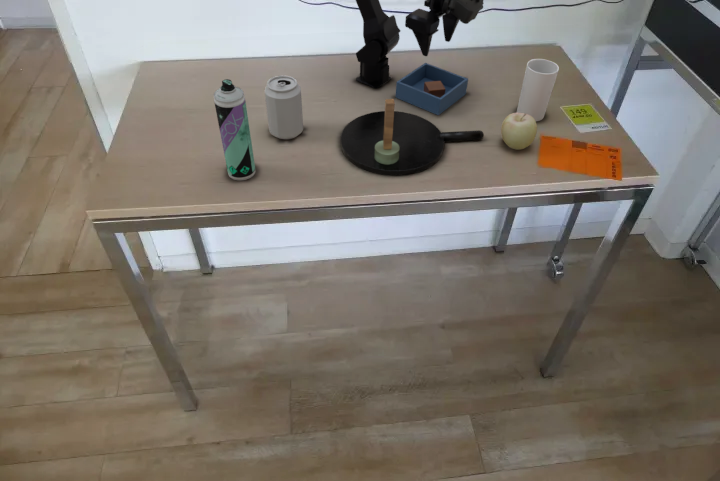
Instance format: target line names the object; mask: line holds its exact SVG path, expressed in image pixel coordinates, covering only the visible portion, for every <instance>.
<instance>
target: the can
mask: <svg viewBox="0 0 720 481" xmlns="http://www.w3.org/2000/svg"><path fill="white" fill-rule="evenodd" d="M264 98H265V106H266V116H267V124H268V131H269V134H271V135H272V136H273V137H276V139H280V140H291V139H294V138H297V137H298V136H299V135H300V134H301V133H303V130H304V116H303V101H302V99H303V98H302V88H301V85H300V84H299V83H298V80H297V79H296V77H295V78H294V77H293V76H291V75H285V74H283V75H282V74H281V75H276V76H272V77H270V78H269V79H268V80H267V82H266V86H265V87H264Z"/></svg>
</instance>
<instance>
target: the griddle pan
mask: <svg viewBox="0 0 720 481" xmlns="http://www.w3.org/2000/svg"><path fill="white" fill-rule="evenodd" d="M384 116H385V110H382V111H379V110H378V111H374V112H373V111H372V112H369V113H366V114H361V115H360V116H357V117H356V118H354V119H353V120H351V121H349V122H348V123H347V124H346V125H345V126H344V128H343V130H342V131H341V135H340V148H341V151H342V153H343V155H344V156H345V158H346V159H347V160H348V161H349V162H351V163H352V164H353V165H355V166H356V167H358V168H360V169H362V170H364V171H367V172H370V173H373V174H378V175H384V176H406V175H407V176H409V175H413V174H417V173H420V172H423V171H425V170H428V169H429V168H431V167H432V166H434V165H435V164H436V163H437V162H439V160H441V157H442V156H443V153H444V148H445V142H446V143H447V142H465V141H480V140H482V139H483V138H484V136H485V133H484V131H482V130H479V129H478V130H477V129H476V130H460V131H459V130H457V131H440V129H439V127H437V126H436V125H435V124H434V123H432V122H431V121H430V120H428V119H426V118H424V117H422V116H420V115H416V114H413V113H411V112H406V111H398V110H394V121H393V136H392V141H394V142H396V143H397V144H398V145H399V147H400V150H399V159H398V161H397V162H395V163H393V164H388V165H386V164H381V163H379V162H377V161H376V160H375V157H374V154H375V145H376V144H377V143H378V142H380V141H383V135H384Z"/></svg>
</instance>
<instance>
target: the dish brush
mask: <svg viewBox="0 0 720 481" xmlns="http://www.w3.org/2000/svg"><path fill="white" fill-rule="evenodd" d="M384 101H385V102H384V111H385V116H384V135H383V141H380V142H378V143H377V144H376V145H375V154H374V157H375V160H376V161H377V162H379V163H381V164H386V165H388V164H393V163H395V162H397V161H398V159H399V150H400V147H399V145H398V144H397V143H396V142H394V141H392V136H393V121H394V111H395V108H396V107H395V106H396V103H395V99H394V98H385V100H384Z"/></svg>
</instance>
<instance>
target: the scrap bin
mask: <svg viewBox="0 0 720 481" xmlns="http://www.w3.org/2000/svg"><path fill="white" fill-rule="evenodd" d="M431 81H441V82H442V84H443V86H444V87H445V94H444V95H443V96H442V97H440V98H439V97H437V96H434V95H432V94H429V93H427V92H424V82H431ZM395 82H396V84H395V99H398V100H401V101H403V102H405V103H407V104H410V105H412V106H415V107H417V108H420V109H422V110H423V111H427V112H429V113H432V114H433V115H437V116H440V115H441V114H442V113H443V112H445V111H447V110H448V108H450V107H451V106H453V105H454V104H455V103H457V102H458V101H459V100H460V99H462V98H463V97H465V96H466V95H467V89H468V84H469V78H468V77H465V76H463V75H460V74H457V73H454V72H451V71H449V70H446V69H444V68H441V67H438V66H435V65H433V64H430V63H427V62H424V63H422V64H421V65H419V66H418V67H417V68H415V69H413V70H412V71H411V72H409V73H407V74H406V75H404V76H403V77H402V78H400V79H399V80H397V81H395Z"/></svg>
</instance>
